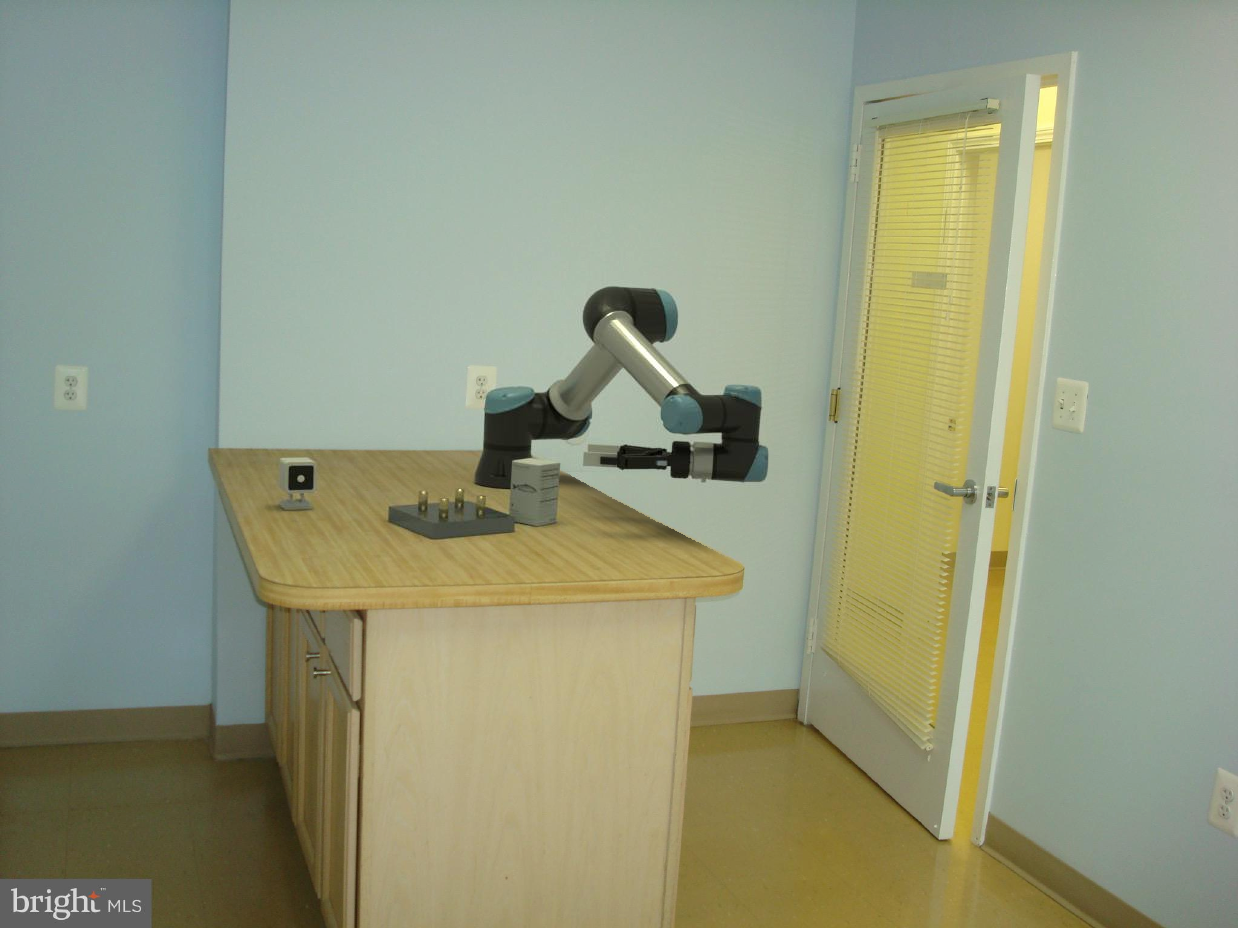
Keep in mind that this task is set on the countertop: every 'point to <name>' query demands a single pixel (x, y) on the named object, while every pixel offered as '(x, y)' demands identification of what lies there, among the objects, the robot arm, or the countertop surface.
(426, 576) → the countertop surface
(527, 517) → the supplement box
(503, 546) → the countertop surface
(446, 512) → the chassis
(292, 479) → the security camera
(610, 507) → the countertop surface
